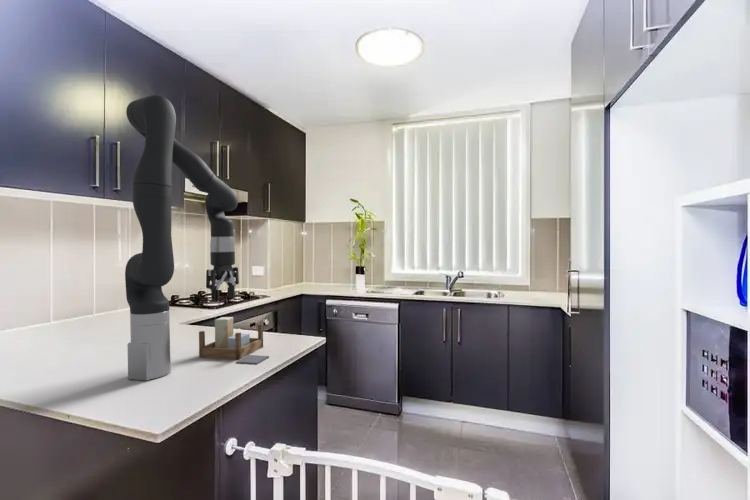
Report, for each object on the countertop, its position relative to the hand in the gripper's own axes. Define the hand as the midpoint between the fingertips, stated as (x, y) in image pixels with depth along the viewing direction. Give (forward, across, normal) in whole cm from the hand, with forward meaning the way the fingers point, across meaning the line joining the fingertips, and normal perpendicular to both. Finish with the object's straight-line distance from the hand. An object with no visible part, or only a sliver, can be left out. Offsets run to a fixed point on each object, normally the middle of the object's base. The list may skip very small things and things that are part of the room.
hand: (223, 299), depth 125 cm
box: (+17, 0, 0) cm, 17 cm away
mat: (+17, -7, -14) cm, 24 cm away
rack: (+17, 0, -3) cm, 17 cm away
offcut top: (+14, -1, -6) cm, 16 cm away
